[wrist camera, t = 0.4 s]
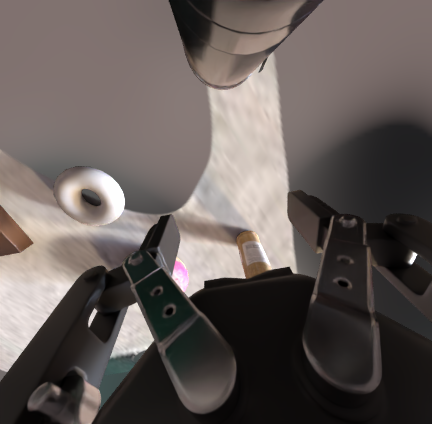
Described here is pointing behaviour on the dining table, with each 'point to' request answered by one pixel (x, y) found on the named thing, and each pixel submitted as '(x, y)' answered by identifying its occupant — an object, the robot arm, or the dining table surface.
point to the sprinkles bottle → (252, 254)
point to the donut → (75, 203)
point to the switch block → (11, 235)
